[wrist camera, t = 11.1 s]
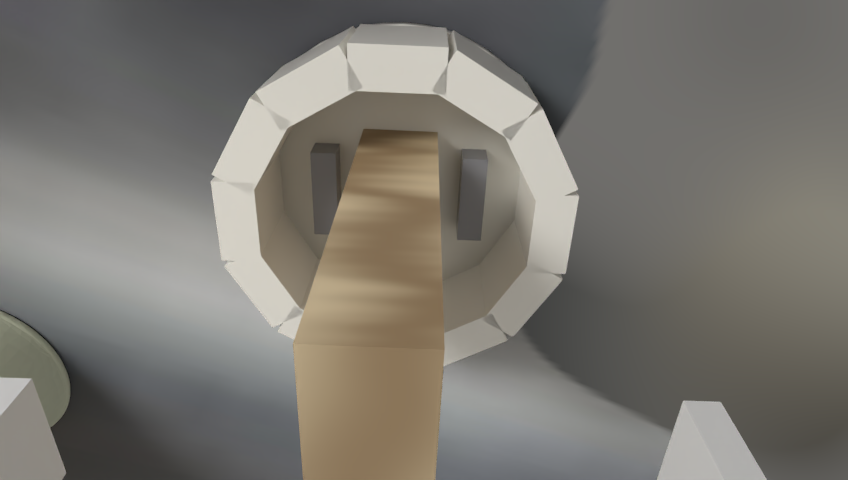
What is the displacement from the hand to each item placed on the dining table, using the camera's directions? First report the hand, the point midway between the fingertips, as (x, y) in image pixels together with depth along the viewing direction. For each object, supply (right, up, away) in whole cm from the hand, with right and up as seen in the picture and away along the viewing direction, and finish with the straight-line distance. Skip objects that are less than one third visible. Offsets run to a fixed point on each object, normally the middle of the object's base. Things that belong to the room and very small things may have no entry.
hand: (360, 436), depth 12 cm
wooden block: (0, +6, +13) cm, 14 cm away
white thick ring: (0, +7, +14) cm, 15 cm away
